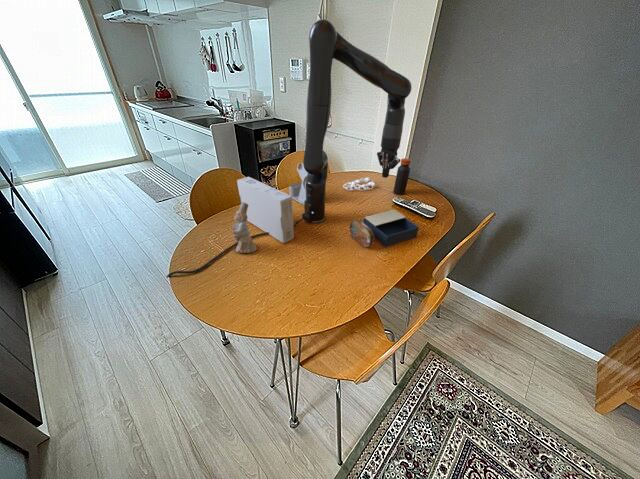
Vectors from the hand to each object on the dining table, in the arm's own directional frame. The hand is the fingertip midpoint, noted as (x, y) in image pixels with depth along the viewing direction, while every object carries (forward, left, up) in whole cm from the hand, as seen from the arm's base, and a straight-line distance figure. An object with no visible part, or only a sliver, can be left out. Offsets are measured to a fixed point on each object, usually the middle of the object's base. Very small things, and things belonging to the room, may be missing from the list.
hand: (384, 176), depth 113 cm
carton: (-1, -10, -23) cm, 25 cm away
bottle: (+33, +22, -23) cm, 46 cm away
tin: (-17, -10, -23) cm, 30 cm away
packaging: (-50, +18, -23) cm, 58 cm away
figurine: (-63, +6, -23) cm, 67 cm away
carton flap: (-1, -6, -17) cm, 18 cm away
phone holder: (-22, +39, -23) cm, 50 cm away
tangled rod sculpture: (+16, +38, -23) cm, 47 cm away
